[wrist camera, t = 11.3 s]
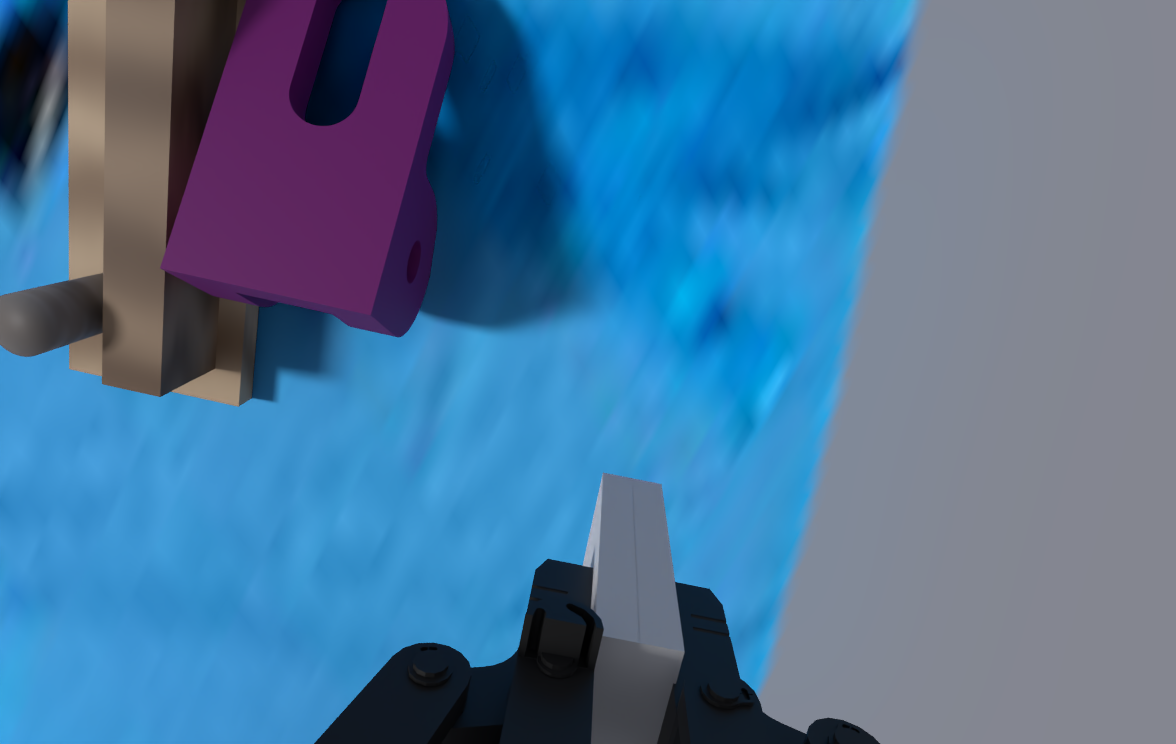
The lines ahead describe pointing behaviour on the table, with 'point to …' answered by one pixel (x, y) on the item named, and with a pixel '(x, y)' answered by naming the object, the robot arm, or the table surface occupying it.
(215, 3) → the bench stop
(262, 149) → the mounting bracket
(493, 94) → the table surface
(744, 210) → the table surface
